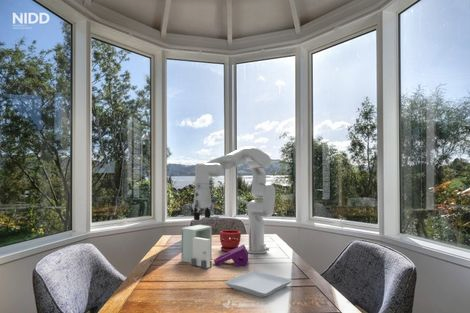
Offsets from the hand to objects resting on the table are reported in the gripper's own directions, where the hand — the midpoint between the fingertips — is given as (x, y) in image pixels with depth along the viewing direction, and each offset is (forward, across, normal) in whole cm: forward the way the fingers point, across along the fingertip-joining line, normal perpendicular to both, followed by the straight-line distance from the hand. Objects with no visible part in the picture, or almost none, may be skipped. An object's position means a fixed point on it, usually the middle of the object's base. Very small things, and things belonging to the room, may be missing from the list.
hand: (202, 218), depth 167 cm
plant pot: (+25, +35, +4) cm, 43 cm away
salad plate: (+25, -14, -40) cm, 49 cm away
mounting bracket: (+25, +10, -12) cm, 29 cm away
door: (+24, -2, -1) cm, 24 cm away
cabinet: (+24, +8, +9) cm, 27 cm away
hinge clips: (+24, -2, -1) cm, 24 cm away
